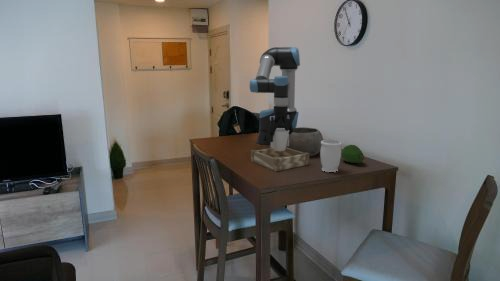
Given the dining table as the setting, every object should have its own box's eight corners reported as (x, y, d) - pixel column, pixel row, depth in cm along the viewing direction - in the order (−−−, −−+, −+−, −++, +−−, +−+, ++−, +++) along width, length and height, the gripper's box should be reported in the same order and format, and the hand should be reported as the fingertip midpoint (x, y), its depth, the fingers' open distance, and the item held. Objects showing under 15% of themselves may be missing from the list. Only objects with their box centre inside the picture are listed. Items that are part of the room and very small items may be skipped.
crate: (282, 155, 206) (282, 145, 204) (309, 164, 187) (309, 153, 186) (250, 161, 193) (250, 150, 192) (275, 171, 175) (276, 159, 173)
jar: (317, 167, 182) (318, 139, 178) (336, 167, 182) (337, 139, 179) (322, 173, 171) (324, 144, 168) (343, 173, 172) (344, 144, 169)
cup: (288, 152, 183) (288, 132, 180) (269, 151, 185) (269, 131, 182) (289, 148, 192) (290, 129, 190) (272, 147, 194) (272, 128, 192)
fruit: (368, 166, 185) (369, 148, 183) (351, 167, 182) (353, 149, 180) (352, 159, 199) (354, 142, 197) (337, 160, 197) (338, 143, 194)
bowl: (280, 150, 220) (280, 126, 217) (313, 148, 225) (314, 125, 222) (291, 159, 198) (292, 133, 195) (328, 157, 203) (330, 132, 200)
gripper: (291, 103, 193) (290, 143, 197) (259, 105, 180) (259, 147, 185) (300, 105, 186) (299, 145, 191) (268, 107, 174) (267, 150, 179)
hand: (279, 146), depth 188 cm, fingers closed on cup, 9 cm apart
